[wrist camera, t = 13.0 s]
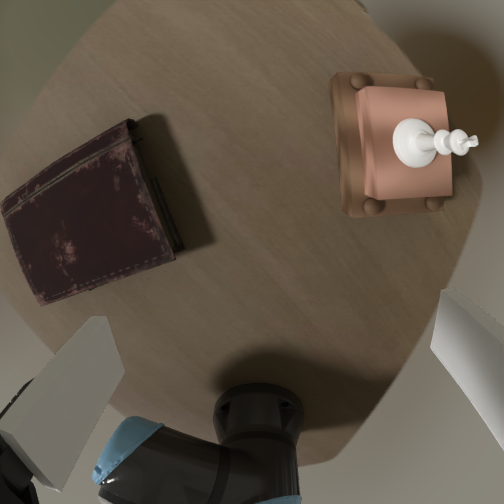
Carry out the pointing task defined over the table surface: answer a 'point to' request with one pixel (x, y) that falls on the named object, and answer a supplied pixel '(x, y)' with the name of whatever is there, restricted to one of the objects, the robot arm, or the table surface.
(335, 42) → the table surface
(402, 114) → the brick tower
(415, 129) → the chess piece
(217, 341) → the table surface
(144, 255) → the diary
